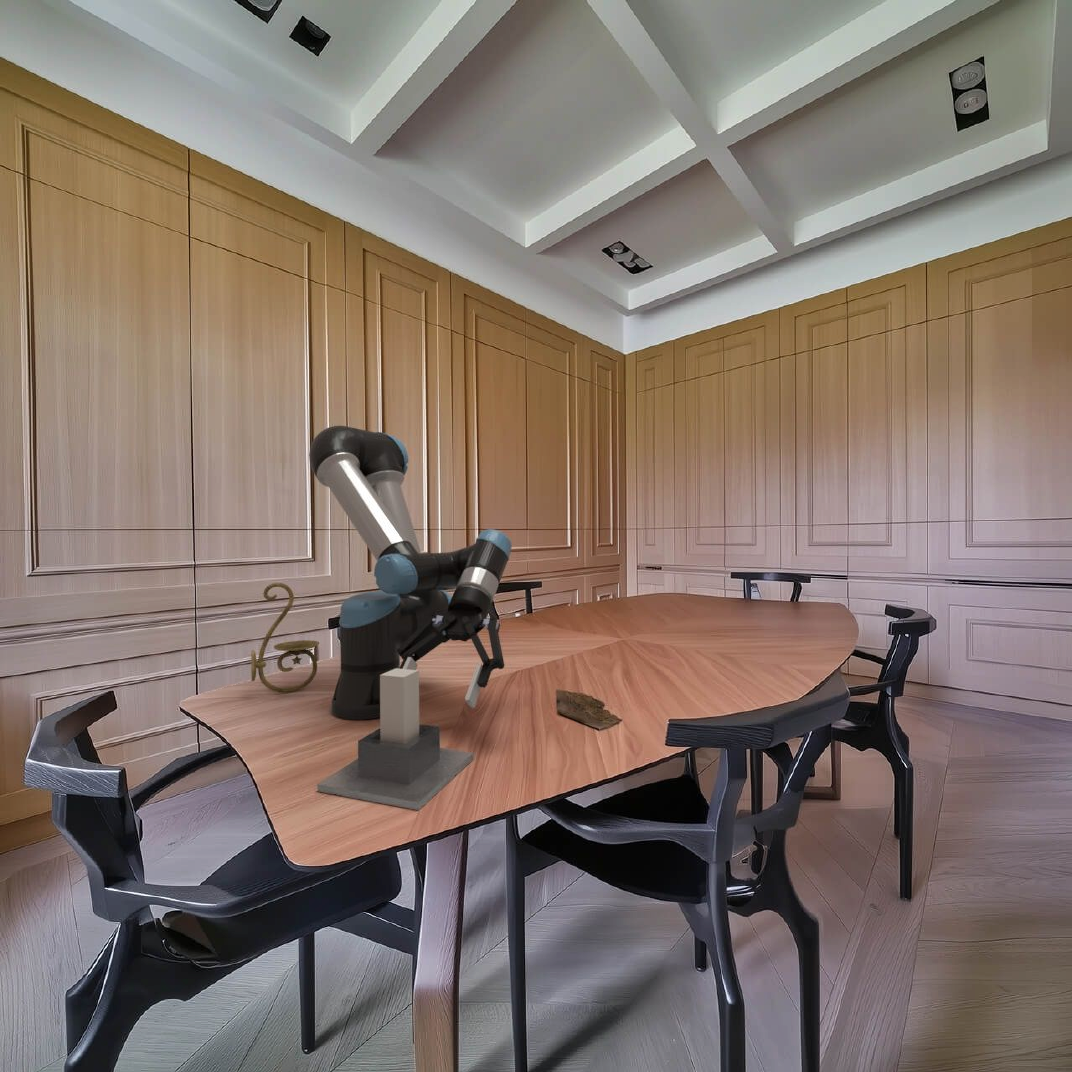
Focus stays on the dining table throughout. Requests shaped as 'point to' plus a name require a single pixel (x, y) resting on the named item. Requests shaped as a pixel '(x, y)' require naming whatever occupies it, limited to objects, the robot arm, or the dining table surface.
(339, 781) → the square post socket
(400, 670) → the rail post
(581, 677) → the dining table surface
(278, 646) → the wall sconce
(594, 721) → the wooden fragment
